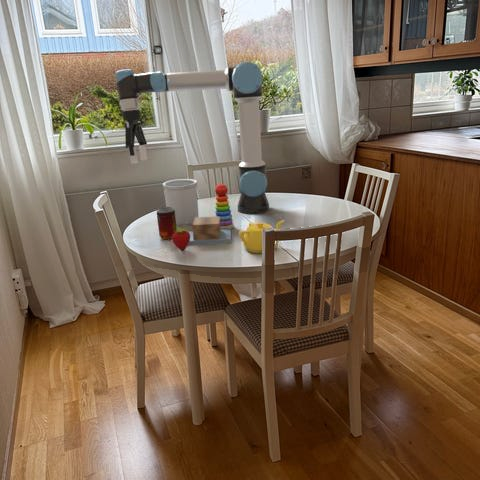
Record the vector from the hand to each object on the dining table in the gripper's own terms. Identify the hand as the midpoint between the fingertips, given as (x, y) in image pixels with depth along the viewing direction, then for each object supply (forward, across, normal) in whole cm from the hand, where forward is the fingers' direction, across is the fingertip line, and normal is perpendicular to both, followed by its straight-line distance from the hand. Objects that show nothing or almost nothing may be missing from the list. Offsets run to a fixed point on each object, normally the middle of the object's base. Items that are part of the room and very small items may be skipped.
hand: (139, 161), depth 184 cm
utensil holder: (+28, -5, +14) cm, 32 cm away
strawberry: (+31, +34, +21) cm, 51 cm away
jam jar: (+30, +19, +13) cm, 37 cm away
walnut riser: (+29, +21, +29) cm, 46 cm away
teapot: (+33, +33, +51) cm, 69 cm away
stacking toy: (+31, +7, +34) cm, 46 cm away
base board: (+31, +21, +29) cm, 47 cm away
